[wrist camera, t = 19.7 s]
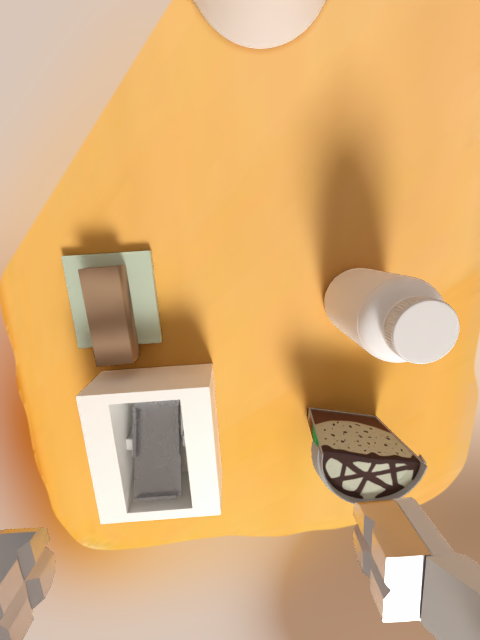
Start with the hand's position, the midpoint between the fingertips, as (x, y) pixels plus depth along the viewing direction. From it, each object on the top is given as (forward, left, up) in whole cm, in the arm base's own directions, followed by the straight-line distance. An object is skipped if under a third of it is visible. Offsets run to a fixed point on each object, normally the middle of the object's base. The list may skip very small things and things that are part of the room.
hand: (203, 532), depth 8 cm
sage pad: (-2, -13, -31) cm, 34 cm away
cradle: (+15, -9, -28) cm, 33 cm away
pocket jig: (+15, -9, -31) cm, 36 cm away
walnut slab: (-1, -13, -30) cm, 33 cm away
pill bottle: (0, +16, -31) cm, 35 cm away
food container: (+18, +14, -31) cm, 39 cm away
